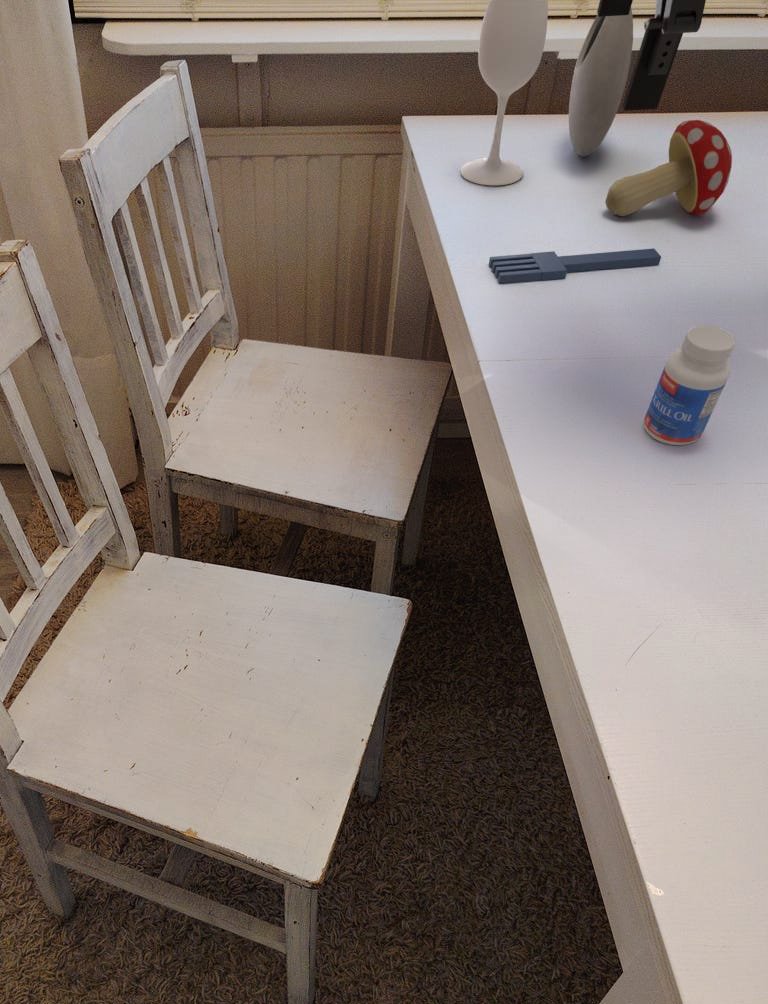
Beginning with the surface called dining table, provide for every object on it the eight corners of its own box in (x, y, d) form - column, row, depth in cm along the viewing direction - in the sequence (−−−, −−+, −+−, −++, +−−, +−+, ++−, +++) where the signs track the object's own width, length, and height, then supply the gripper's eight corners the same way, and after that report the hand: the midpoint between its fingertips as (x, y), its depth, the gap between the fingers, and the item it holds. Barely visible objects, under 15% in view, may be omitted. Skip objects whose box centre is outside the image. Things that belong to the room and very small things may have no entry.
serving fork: (647, 251, 101) (650, 243, 100) (663, 270, 98) (666, 261, 97) (488, 264, 100) (489, 256, 99) (499, 284, 97) (500, 275, 96)
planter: (561, 126, 126) (593, -28, 112) (609, 129, 125) (648, -26, 110) (553, 175, 115) (587, 12, 101) (605, 179, 114) (648, 14, 99)
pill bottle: (630, 429, 79) (664, 336, 71) (661, 405, 81) (697, 313, 73) (682, 455, 76) (722, 361, 68) (713, 430, 78) (755, 336, 71)
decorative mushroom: (605, 149, 99) (736, 92, 96) (587, 168, 110) (704, 118, 106) (627, 242, 102) (755, 191, 98) (608, 253, 113) (723, 206, 109)
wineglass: (508, 157, 119) (539, -24, 103) (532, 182, 114) (568, -6, 98) (452, 164, 118) (473, -18, 102) (473, 189, 113) (499, 1, 97)
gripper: (636, -364, 58) (562, -19, 77) (713, -199, 48) (605, 153, 67) (744, -372, 58) (643, -24, 77) (846, -209, 47) (699, 148, 66)
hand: (625, 59), depth 72 cm, fingers open, 13 cm apart
